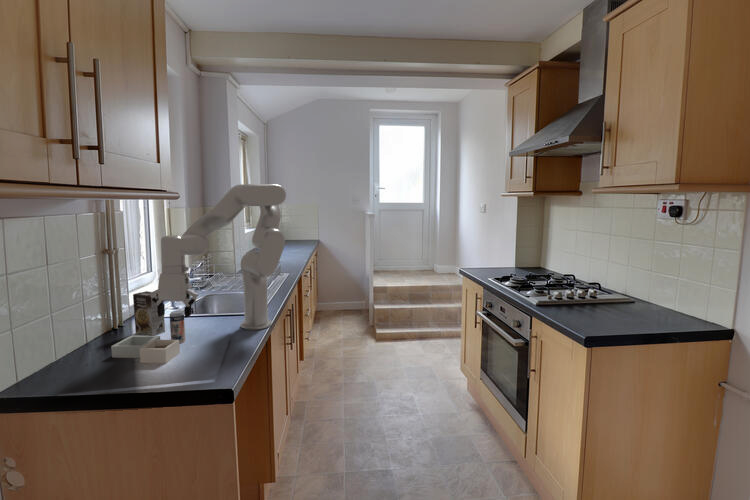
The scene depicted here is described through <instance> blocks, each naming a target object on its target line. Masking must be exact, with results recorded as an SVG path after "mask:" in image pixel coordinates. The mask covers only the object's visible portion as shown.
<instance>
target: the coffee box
mask: <svg viewBox="0 0 750 500" xmlns="http://www.w3.org/2000/svg"><path fill="white" fill-rule="evenodd" d="M151 292H152V291H147V290H146V291H141V292H136V293H134V294H132V299H133V301H132V302H133V313H134V315H133V316H134V329H135V330H134V331H135V335H140V336H159V335H161V334H163V333H165V332H166V324H165V314H164V315H162V316H160V317H159V316H158V313H157V306H156V303H155V302H154V301H153V300H152V298H151V296H150V293H151ZM156 297H158V293H157V294H156ZM164 302H165V301H164ZM164 302H163V304H164V305H165V303H164Z"/></svg>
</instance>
